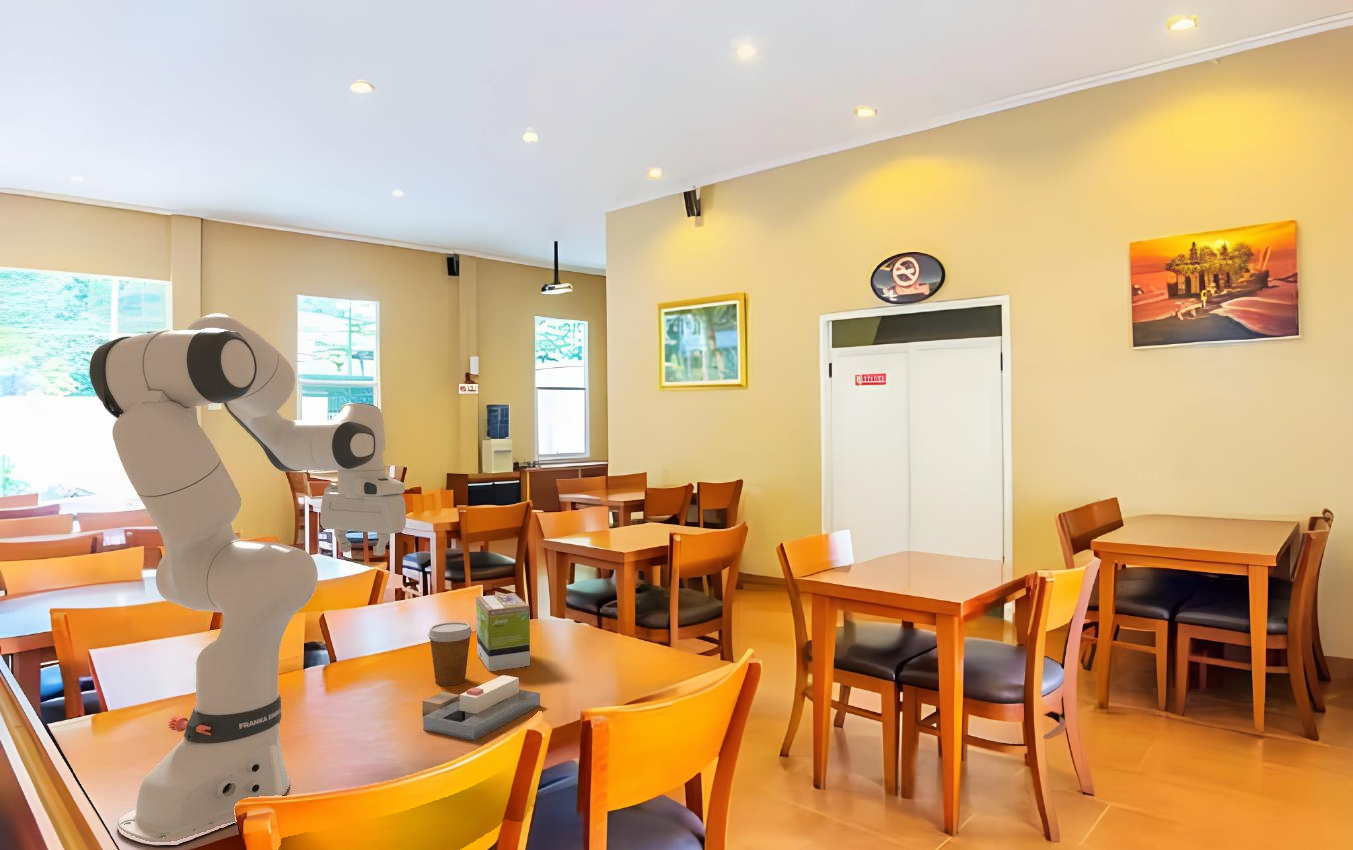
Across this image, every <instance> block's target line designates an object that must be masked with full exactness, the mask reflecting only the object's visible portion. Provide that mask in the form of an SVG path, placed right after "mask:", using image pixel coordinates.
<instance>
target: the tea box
mask: <svg viewBox="0 0 1353 850" xmlns="http://www.w3.org/2000/svg"><path fill="white" fill-rule="evenodd" d="M475 601H476V603H475V604H476V649H477V651H476V652H477V655H478V657H479V659H480V660H481V661H482V663H483V665H485V667H486V669H487V670H488V671H492V672H496V671H495V670H500V671H505V669H507V670H513V669H512V668H514V669H519V668H520V667H521V668H526V667H525V666H527V667H530V666H531V646H530V645H531V643H530V642H531V636H530V635H531V633H530V632H531V631H530V630H531V629H530V623H531V622H530V605H529V604H527V603H526V602H525V600H523V599H522V598H520V596H518V595H517V593H515V592H511V593H503V594H493V595H485V596H483V595H482V596H476V600H475Z"/></svg>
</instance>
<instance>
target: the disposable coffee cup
mask: <svg viewBox="0 0 1353 850" xmlns="http://www.w3.org/2000/svg"><path fill="white" fill-rule="evenodd" d="M472 634H473V629H472V628H471V625H470V624H469V623H467V622H461V621H460V622H459V621H453V622H452V621H450V622H441V623H437V624H435V625H432V626H430V627H429V631H428V633H427V636H428V638H429V641H430V648H431V655H432V656H431V657H432V664H433V672H434V680H435V684H437V685H439V686H455V685H460V684H462V683H464V682H465V680H466V673H467V665H468V659H469V651H470V641H471V636H472Z"/></svg>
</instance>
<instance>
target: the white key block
mask: <svg viewBox="0 0 1353 850" xmlns="http://www.w3.org/2000/svg"><path fill="white" fill-rule="evenodd" d="M519 679H520V678H519V677H517V676H516V677H515V676H511V675H505V674H502V675H500V676H497V677H496V678H494V679H491V680H489V681H487V682H485V683H482V684H480V685H478V686H476V687H471V688H469V689H466V691H465V692H463V693H460V694H459V695H460V711H465V720H466V719H469V718H471V717H473V716H475V714H477V713H479V712H481V711H483V710H485V709H487V708H489V707H491V706H493V705H497V704H499V703H501V702H503V701H505V699H507V698H509V697H511V696H513V695H515V694H517V693H519V689H520V681H519Z"/></svg>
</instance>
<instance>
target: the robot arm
mask: <svg viewBox="0 0 1353 850" xmlns="http://www.w3.org/2000/svg"><path fill="white" fill-rule="evenodd" d="M88 375H89V379H90V383H91V385H92V388H93V390H94V392H95V394H96V397H98V399H99V401H100V402H101V403H102V405H103V407H104V409H105V410H106V411H107V412H108V413H109V414H110V415H111V416H113V417H115V418H116V420H115V422H114V424H113V427H112V431H111V432H112V433H111V435H112V438H113V442H114V445H115V450H116V452H117V455H118V457H119V459H120V460H119V461H120V462H121V464H122V467H123V470H124V472H125V474H126V475H127V478H128V481H130V483H131V485H132V487H133V489H134V490H135V493H136V495H137V496H138V497H139V499H140V500H141V502H142V504H143V506H144V507H145V508H146V510H147V512H148V514H149V516H150V517H151V519H152V522H154V524H155V526H156V528H157V529H158V532H159V535H160V537H161V540H162V543H163V549H164V555H163V556H162V557H161V559H160V560H159V563H158V564H157V568H156V572H155V584H156V588H157V591H158V593H159V595H160V596H161V597H162V598H164V600H166V601H167V602H169V603H172V604H174V605H177V606H179V607H183V608H187V609H189V610H193V611H197V612H209V613H210V612H211V613H212V612H213V613H222V623H221V624H222V625H221V628H220V631H219V634H218V636H217V638H216V639H215V640H213V641H212V642H211V643H209V644H208V645H206V646H205V647H204V648H203V649H202V650H201V651H200V653H199V655H198V656H197V658H196V660H195V661H196V662H195V706H194V708H193V710H192V713H191V714H190V717H189V719H188V718H187V717H182V716H180V715H174V716H172V717H171V718H170V720H169V721H168V724H167V726H168V729H170V731H176V732H178V733H179V732H183V738H182V739H181V740H180V742H178V743H177V744H176V745H175V746H174V748H173V749H172V750H170V751H169V752H168V753H167V754H166V755H165V757H163V759H162V760H161V761H159V763H158V764H157V765H155V766H154V768H152V769H151V770H150V772H149V773H147V774H146V775H145V777H144V778H143V779H142V781H141V784H140V786H139V790H138V795H137V801H136V807H135V809H133V810H131V811H129V812H127V813H126V814H125V813H124V815H122V816H120V817H119V818H118V820H117V826H119V828H120V829H121V830H123V831H124V832H126V833H127V834H130V835H131V836H135V837H136V838H139V839H142V840H145V841H149V842H171V841H177V840H180V839H183V838H187V837H189V836H193V835H195V834H199V833H201V832H206V831H207V830H211V829H213V828H215V827H217V826H221V825H222V824H227V823H231V822H236V821H235V815H234V806H235V804H236V803H237V802H238V801H240V800H242V799H244V798H248V797H259V796H274V795H284V796H285V794H286V793H287V791H288V790H289V788H290V786H291V781H290V778H289V775H288V774H287V773H288V772H287V770H286V766H285V761H284V756H283V751H282V744H281V736H280V723H281V719H282V698H281V695H280V694H279V684H278V683H279V664H280V663H279V662H280V661H279V660H280V648H281V644H282V639H283V637H284V634H285V631H286V629H287V627H288V625H289V623H290V622H291V620H292V619H293V618H294V616H295V615H296V614H297V613H298V612H299V611H300V610H301V609H303V608H304V607H305V606H306V605H307V604H308V603H309V601H310V600H312V597H313V596H314V593H315V591H316V588H317V586H318V578H319V577H318V576H319V574H318V573H319V572H318V568H317V565H316V562H315V560H314V558H313V556H312V555H311V554H310V553H309V552H308V551H306V550H303V549H301V548H297V547H295V546H291V545H288V544H286V543H285V544H284V543H281V542H273V541H271V542H269V541H248V540H243V539H241V538H240V537H238V535H236V534H235V532H234V530H233V527H232V523H233V522H234V520H235V519H236V518H237V516H238V513H239V512H240V509H241V506H242V498H241V495H240V493H239V490H238V488H237V487H236V485H235V483H234V482H233V480H232V478H231V476H230V474H229V472H228V471H227V470H228V469H227V468H226V466H225V464H224V462H223V461H222V459H221V457H220V455H219V453H218V452H217V449H216V448H215V446H214V444H213V442H212V441H211V440H210V438H209V437H208V435H207V433H206V432H205V430H204V429H203V428H202V427H201V426H200V424H199V421H198V412H197V410H198V408H197V407H201V406H206V405H211V404H223V405H224V407H225V409H226V411H227V412H228V413H229V414H230V416H231V417H232V418H233V419H234V420H235V421H236V422H237V424H239V425H240V426H241V427H242V428H243V430H245V431H246V432H247V434H248V435H250V436H251V437H252V438H253V440H255V441H256V442H257V444H259V445H260V447H261V449H262V450H263V452H264V453H265V455H266V457H267V459H268V461H270V463H271V464H272V465H273V467H274V468H276V469H277V470H279V471H281V472H284V473H292V472H303V471H314V472H315V471H316V472H317V471H320V472H321V471H324V472H325V471H326V472H327V471H337V483H333V482H330V483H329V484H328V485H327V486H326V487H325V488H324V490H323V497H322V499H321V500H322V501H321V505H320V513H319V514H320V515H319V516H320V517H319V523H320V524H319V525H320V526H321V527H322V529H325V530H334V531H333V532H334V537H335V539H336V541H337V543H338V551H339V553H350V552H351V551H352V542H350V541H349V540H348V538H347V534H348V533H349V532H348V531H352V532H365V533H374V534H375V533H376V538H377V539H378V540H377V543H376V545H373V546H372V549H373V551H372V552H373V553H372V555H374V556H384V555H385V554H386V546H387V544H388V542H389V540H390V539H391V535H392V534H398V533H402V532H403V531H404V530H405V528H406V523H407V512H406V511H407V510H406V500H405V498H404V496H403V495H401V494H404V493H405V488H406V487H405V484H404V482H403V481H400V480H398V479H395V478H394V477H392V476H390V475H389V474H386V466H385V463H384V452H385V449H386V435H385V433H386V432H385V425H384V418H383V414H382V411H381V410H382V409H380V408H379V407H378V406H376V405H374V404H372V403H371V404H370V403H362V402H347V403H343V404H342V405H341V407H340V410H339V413H338V414H337V415H335V416H334V417H331V418H330V419H309V420H308V419H305V420H304V419H291V418H287V417H283V416H281V414H280V413H279V412H278V410H280V409H281V408H282V407H283V406H285V404H287V402H288V400H289V399H290V398H291V396H292V394H293V391H294V388H295V383H296V382H295V381H296V380H295V379H296V377H295V371H294V369H293V367H292V365H291V363H290V362H289V360H288V359H287V358H286V357H285V356H284V355H283V354H282V353H281V352H280V351H279V350H277V348H276V347H275V346H273V345H272V344H271V343H270V342H269V341H267V339H265V338H264V337H263V336H262V335H260V334H259V333H258V332H257V331H255V330H253V329H252V328H251V327H250V326H248V325H247V324H244V323H243V322H241V321H239V320H238V319H236V318H234V317H232V316H229V315H227V314H222V313H211V314H207V315H204V316H202V317H200V318H198V319H196V320H194V322H192V323H191V324H190V325H189V326H188V327H187V329H185V330H159V331H153V332H148V333H147V332H146V333H143V334H138V335H134V336H122V337H119V338H114V339H113V340H109V341H107V342H106V343H104V344H102V345H100V346H98V347H97V348H96V349H95V350H94V351H93V353H92V356H91V358H90V363H89V373H88ZM289 785H290V786H289ZM288 787H289V788H288ZM287 789H288V790H287ZM125 824H129V825H125ZM163 837H164V838H163Z"/></svg>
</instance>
